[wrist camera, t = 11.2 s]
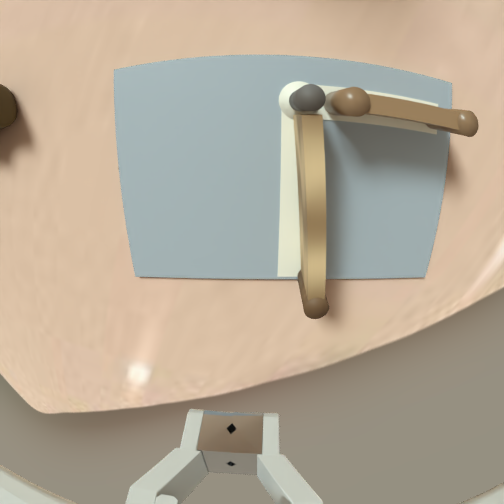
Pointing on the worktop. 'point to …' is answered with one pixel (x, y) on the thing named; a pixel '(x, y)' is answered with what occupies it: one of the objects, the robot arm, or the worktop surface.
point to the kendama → (7, 107)
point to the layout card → (280, 165)
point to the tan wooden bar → (311, 198)
